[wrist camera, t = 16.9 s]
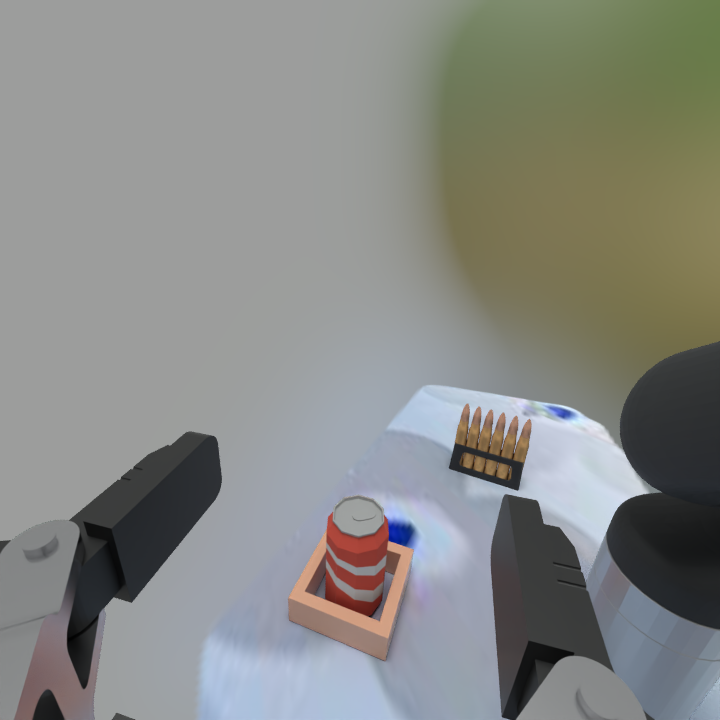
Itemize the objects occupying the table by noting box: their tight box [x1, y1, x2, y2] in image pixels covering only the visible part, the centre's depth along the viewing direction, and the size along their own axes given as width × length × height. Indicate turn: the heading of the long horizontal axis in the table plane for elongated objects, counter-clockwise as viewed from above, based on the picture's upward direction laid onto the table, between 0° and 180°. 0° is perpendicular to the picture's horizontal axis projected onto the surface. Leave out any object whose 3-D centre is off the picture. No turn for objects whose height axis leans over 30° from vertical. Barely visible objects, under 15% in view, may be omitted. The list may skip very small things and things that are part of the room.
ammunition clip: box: [449, 404, 531, 491], centre depth 60 cm, size 11×2×12 cm, turn 65°
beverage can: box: [325, 495, 389, 616], centre depth 41 cm, size 6×6×12 cm
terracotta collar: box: [288, 530, 414, 661], centre depth 43 cm, size 10×10×4 cm
